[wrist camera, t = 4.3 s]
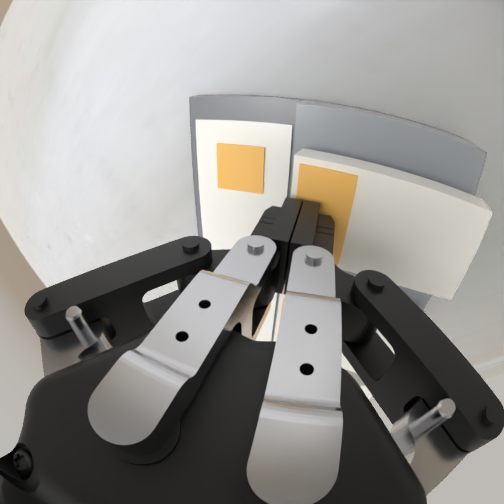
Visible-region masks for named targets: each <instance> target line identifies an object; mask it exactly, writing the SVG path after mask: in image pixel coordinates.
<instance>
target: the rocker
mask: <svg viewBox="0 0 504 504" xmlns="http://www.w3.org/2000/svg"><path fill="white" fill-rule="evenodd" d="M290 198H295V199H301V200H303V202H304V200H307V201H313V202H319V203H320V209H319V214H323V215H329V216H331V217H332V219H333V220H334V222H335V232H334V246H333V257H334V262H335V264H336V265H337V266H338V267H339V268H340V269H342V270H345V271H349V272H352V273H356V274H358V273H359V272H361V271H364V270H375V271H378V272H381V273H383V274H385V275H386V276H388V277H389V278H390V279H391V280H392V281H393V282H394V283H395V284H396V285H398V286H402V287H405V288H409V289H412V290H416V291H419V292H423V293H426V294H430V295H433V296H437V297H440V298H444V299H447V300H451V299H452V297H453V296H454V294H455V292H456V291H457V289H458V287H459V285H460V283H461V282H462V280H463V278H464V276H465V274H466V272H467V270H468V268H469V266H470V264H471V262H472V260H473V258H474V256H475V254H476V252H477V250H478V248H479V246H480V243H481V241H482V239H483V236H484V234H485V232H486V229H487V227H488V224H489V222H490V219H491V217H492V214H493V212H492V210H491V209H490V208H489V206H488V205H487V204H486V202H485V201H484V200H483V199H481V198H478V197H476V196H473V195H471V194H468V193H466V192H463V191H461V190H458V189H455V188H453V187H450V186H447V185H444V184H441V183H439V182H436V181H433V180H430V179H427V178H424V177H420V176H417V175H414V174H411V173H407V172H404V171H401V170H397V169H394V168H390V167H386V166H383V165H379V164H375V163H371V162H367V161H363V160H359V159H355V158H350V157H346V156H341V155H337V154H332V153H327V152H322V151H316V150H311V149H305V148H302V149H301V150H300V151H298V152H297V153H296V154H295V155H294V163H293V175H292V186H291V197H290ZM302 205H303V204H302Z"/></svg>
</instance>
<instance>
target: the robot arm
mask: <svg viewBox="0 0 504 504" xmlns="http://www.w3.org/2000/svg"><path fill="white" fill-rule="evenodd" d="M302 204H303V205H302ZM319 209H320V203H319V202H313V201H307V200H304V202H303V200H301V199H295V198H289V197H286V198H285V200H284V203H283V205H282V207H277V206H271V207H270V208H268V209H266V210H265V211H264V213H263V214H262V216H261V218H260V220H259V222H258V223H257V225H256V226H255V228H254V230H253V232H252V233H251V235H250V236H246V237H243V238H241V239H239V240H238V241H237V242H236V243H235V245H234V246H233V247H232V249H227V250H212V247H211V243H210V241H209V240H208V239H206V238H203V237H200V236H188V237H184V238H181V239H178V240H175V241H172V242H169V243H166V244H163V245H160V246H157V247H155V248H152V249H149V250H146V251H143V252H140V253H138V254H135V255H132V256H129V257H127V258H124V259H121V260H118V261H116V262H113V263H110V264H107V265H105V266H102V267H99V268H97V269H94V270H91V271H89V272H86V273H84V274H81V275H78V276H76V277H73V278H71V279H68V280H66V281H63V282H60V283H58V284H55V285H53V286H50V287H48V288H46V289H43V290H41V291H39V292H37V293H35V294H34V295H33V296H32V297H31V298H30V299H29V300H28V302H27V303H26V306H25V315H26V317H27V318H28V320H29V321H30V323H31V324H32V326H33V327H34V329H35V330H36V333H37V335H38V336H39V337H40V342H41V352H42V361H43V369H44V376H45V377H44V378H42V379H41V380H40V381H39V382H38V383H37V384H36V385H35V386H34V388H33V389H32V391H31V392H30V395H29V397H28V400H27V403H26V409H25V417H24V422H23V427H22V431H21V434H20V437H19V441H18V443H17V445H16V446H15V448H14V449H13V450H12V451H11V452H10V453H9V454H7V455H5V456H3V457H2V458H0V504H427V500H426V495H427V494H428V493H430V492H431V491H432V490H433V489H434V488H435V487H436V486H437V485H438V484H439V483H440V482H441V481H442V480H443V479H444V478H446V477H447V476H448V474H449V473H450V472H451V471H452V470H453V469H454V468H455V467H456V466H457V465H458V464H459V463H460V462H461V460H463V458H464V457H465V456H466V455H467V454H469V453H471V452H472V451H474V450H476V449H478V448H479V447H481V446H483V445H485V444H486V443H488V442H489V441H491V440H493V439H494V438H496V437H497V436H498V435H499V434H500V433H501V431H502V429H503V427H504V409H503V406H502V404H501V402H500V401H499V399H498V398H497V397H496V395H495V394H494V393H493V391H492V390H491V389H490V388H489V386H488V385H487V384H486V383H485V381H484V380H483V379H482V377H481V376H480V375H479V374H478V373H477V371H476V370H475V369H474V368H473V366H472V365H471V364H470V363H469V362H468V360H467V359H466V358H465V357H464V356H463V355H462V353H461V352H460V351H459V350H458V349H457V348H456V347H455V345H454V344H453V343H452V342H451V341H450V340H449V339H448V338H447V336H446V335H445V334H444V333H443V332H442V331H441V330H440V329H439V328H438V327H437V326H436V324H435V323H434V322H433V321H432V320H431V319H430V318H429V317H428V316H427V315H426V314H425V313H424V312H423V311H422V310H421V309H420V308H419V307H418V306H417V305H416V304H415V303H414V302H413V300H412V299H411V298H410V297H409V296H408V295H407V294H406V293H405V292H404V291H403V290H402V289H401V288H399V287H398V286H397V285H396V284H395V283H394V282H393V281H392V280H391V279H390V278H389V277H388V276H386V275H385V274H383V273H381V272H378V271H375V270H364V271H361V272H359V273H358V274H357V275H356V276H353V275H350V274H348V273H346V272H344V271H342V270H341V269H340V268H339V267H338V266H337V265H336V264H335V262H334V257H333V246H334V232H335V222H334V220H333V219H332V217H331V216H329V215H323V214H319ZM175 280H177V284H178V289H179V290H176V291H174V292H171V293H169V294H166V295H164V296H161V297H159V298H156V299H154V300H151V301H149V302H145V303H144V302H142V298H143V296H144V294H145V293H146V292H148V291H150V290H152V289H155V288H157V287H160V286H162V285H165V284H167V283H170V282H173V281H175ZM284 285H285V289H284V294H285V299H284V304H283V309H282V315H281V320H280V325H279V330H278V335H277V340H276V341H255V340H256V338H257V336H258V334H259V331H260V329H261V327H262V325H263V323H264V321H265V319H266V316H267V314H268V312H269V310H270V307H271V301H272V300H273V297H274V294H275V293H280V294H282V291H283V288H284ZM377 329H378V331H379V332H380V333H381V334H382V335H383V337H384V338H385V339H386V340H387V341H388V343H389V344H390V345H391V346H392V348H393V350H394V353H395V354H394V353H393V352H392V351H391V349H390V348H389V347H388V346H387V345H386V343H385V342H384V341H383V340H382V339H381V337H380V336H379V335H378V334H377V332H376V331H377ZM342 353H343V355H344V356H345V358H346V359H347V360H348V362H349V363H350V365H351V366H352V367H353V369H354V370H355V372H356V373H357V374H358V376H359V377H360V379H361V380H362V381H363V383H364V384H365V386H366V387H367V388H368V390H369V391H370V393H371V394H372V396H373V397H374V398H375V400H376V401H377V403H378V404H379V406H380V407H381V408H382V410H383V411H384V413H385V414H386V415H387V417H388V418H389V420H390V421H391V423H392V424H393V427H392V429H391V434H390V432H389V431H388V429H387V428H386V426H385V425H384V423H383V421H382V420H381V418H380V417H379V415H378V413H377V412H376V410H375V409H374V407H373V406H372V404H371V402H370V401H369V399H368V398H367V396H366V395H365V393H364V392H363V390H362V389H361V387H360V385H359V384H358V383H357V381H356V380H355V379H354V378H353V377H352V375H350V374H349V373H348V372H347V371H346V370H345V369H343V368H342V367H341V361H342Z"/></svg>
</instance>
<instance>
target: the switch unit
mask: <svg viewBox="0 0 504 504" xmlns="http://www.w3.org/2000/svg"><path fill="white" fill-rule="evenodd" d="M189 102H190V129H191V149H192V165H193V180H194V193H195V205H196V216H197V227H198V236H200V237H203V238H206V239H208V240H209V241H210V243H211V247H212V250H227V249H232V247H233V246H234V245H235V243H236V242H237V241H238V240H239V239H241V238H243V237H246V236H250V235H251V233H252V232H253V230H254V228H255V226H256V225H257V223H258V222H259V220H260V218H261V216H262V214H263V213H264V211H265V210H266V209H268V208H270V207H271V206H277V207H282V205H283V203H284V200H285V198H286V197H289V198H290V197H291V186H292V175H293V163H294V155H295V154H296V153H297V152H298V151H300V150H301V149H302V148H305V149H311V150H316V151H322V152H327V153H332V154H337V155H341V156H346V157H350V158H355V159H359V160H363V161H367V162H371V163H375V164H379V165H383V166H386V167H390V168H394V169H397V170H401V171H404V172H407V173H411V174H414V175H417V176H420V177H424V178H427V179H430V180H433V181H436V182H439V183H441V184H444V185H447V186H450V187H453V188H455V189H458V190H461V191H463V192H466V193H468V194H471V195H473V196H475V193H476V190H477V187H478V183H479V180H480V177H481V173H482V169H483V166H484V162H485V158H486V152H485V151H483V150H482V149H480V148H478V147H477V146H475V145H474V144H472V143H470V142H468V141H467V140H465V139H463V138H461V137H459V136H456V135H453V134H451V133H448V132H445V131H442V130H439V129H436V128H433V127H430V126H427V125H424V124H421V123H418V122H414V121H411V120H407V119H404V118H400V117H396V116H392V115H388V114H384V113H380V112H375V111H371V110H366V109H361V108H356V107H351V106H346V105H340V104H334V103H327V102H320V101H312V100H304V99H295V98H284V97H270V96H250V95H202V96H192V97H189ZM341 270H342V269H341ZM342 271H344V272H346V273H348V274H350V275H353V276H356V275H357V274H356V273H352V272H349V271H345V270H342ZM284 286H285V285H284ZM397 286H398V285H397ZM398 287H399V288H401V289H402V290H403V291H404V292H405V293H406V294H407V295H408V296H409V297H410V298H411V299H412V300H413V302H414V303H415V304H416V305H417V306H418V307H419V308H420V309H421V310H422V311H423V309H424V308H425V306H426V304H427V302H428V300H429V299H430V297H431V295H430V294H426V293H423V292H419V291H416V290H412V289H409V288H405V287H402V286H398ZM279 296H280V293H275V294H274V297H273V300H272V301H271V307H270V310H269V312H268V314H267V316H266V319H265V321H264V323H263V325H262V327H261V329H260V331H259V334H258V336H257V338H256V340H255V341H274V333H275V326H276V319H277V311H278V304H279ZM346 371H348V370H346Z"/></svg>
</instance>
